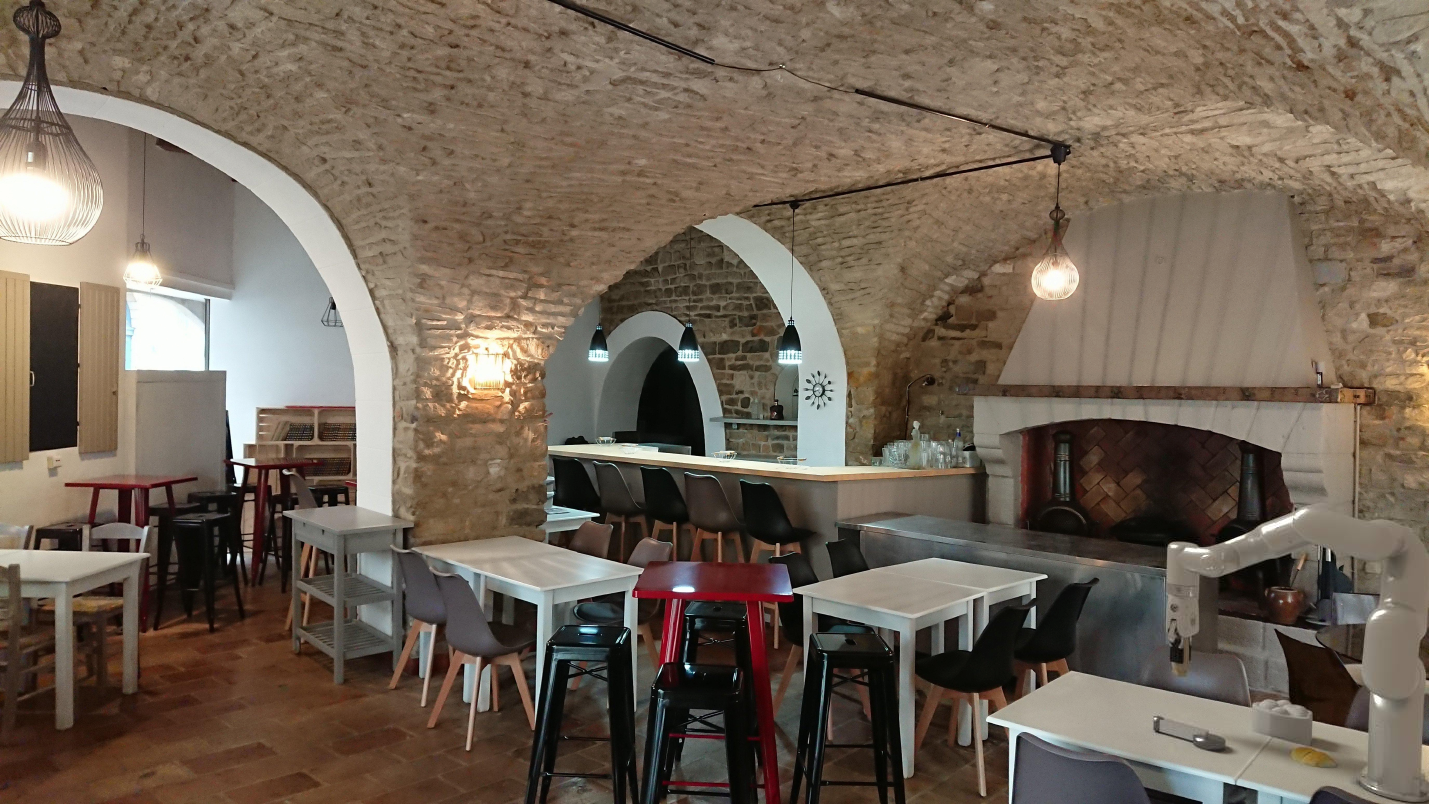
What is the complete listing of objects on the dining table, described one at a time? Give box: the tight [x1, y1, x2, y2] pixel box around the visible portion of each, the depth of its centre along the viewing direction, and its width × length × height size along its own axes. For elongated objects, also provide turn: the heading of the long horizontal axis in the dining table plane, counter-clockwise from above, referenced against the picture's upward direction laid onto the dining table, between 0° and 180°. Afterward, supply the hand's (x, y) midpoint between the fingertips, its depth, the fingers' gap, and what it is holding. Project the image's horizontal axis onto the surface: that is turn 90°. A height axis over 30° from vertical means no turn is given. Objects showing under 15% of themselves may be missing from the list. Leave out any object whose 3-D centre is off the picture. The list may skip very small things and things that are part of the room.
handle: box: [1171, 619, 1196, 678], centre depth 232 cm, size 5×6×15 cm
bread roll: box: [1290, 746, 1337, 768], centre depth 212 cm, size 8×9×4 cm
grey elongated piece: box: [1152, 715, 1226, 753], centre depth 223 cm, size 17×7×4 cm, turn 42°
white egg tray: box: [1251, 698, 1313, 748], centre depth 231 cm, size 10×13×9 cm
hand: (1180, 660), depth 232 cm, fingers closed on handle, 3 cm apart
